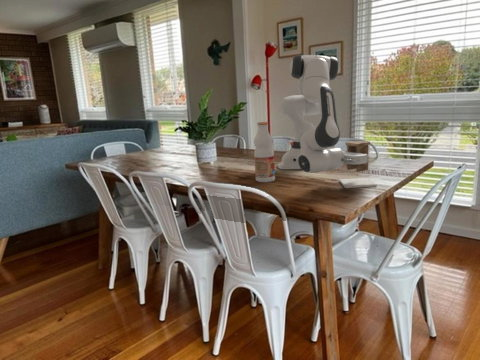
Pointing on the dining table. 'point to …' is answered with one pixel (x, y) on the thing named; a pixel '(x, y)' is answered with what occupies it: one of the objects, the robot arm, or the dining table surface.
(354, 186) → the mat
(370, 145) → the shot glass
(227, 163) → the dining table surface
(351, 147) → the stool
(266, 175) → the fruit juice
